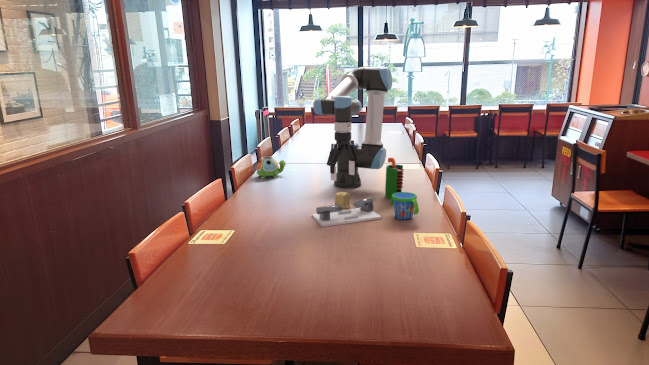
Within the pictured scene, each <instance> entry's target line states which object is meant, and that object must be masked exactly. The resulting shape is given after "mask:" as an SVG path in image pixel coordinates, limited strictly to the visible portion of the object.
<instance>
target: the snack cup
mask: <svg viewBox="0 0 649 365" xmlns="http://www.w3.org/2000/svg"><path fill="white" fill-rule="evenodd" d="M417 199H418V195H417V194H416V193H413V192H410V191H409V192H408V191H401V192H397V193H394V194H392V197H391V199H390V202H389V203H390V206H391V207H393V210H394V216H395V218H397V219H399V220H410V219H412V218H413V215H417V214H419V205H418V200H417Z"/></svg>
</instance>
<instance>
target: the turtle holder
mask: <svg viewBox="0 0 649 365" xmlns="http://www.w3.org/2000/svg"><path fill="white" fill-rule="evenodd" d="M285 166H286V161H285V159H282V160H280V161H279V162H277V161H276V160H275V159H274V157H273V156H263V157H261V158H260V160H259V161H258V163H257V165H256V174H257V176H259V177H260V180H265V179H266V177H272V178H273V179H277V178H278V175H279V174H281V173H282V172H283V171H284V169H285Z"/></svg>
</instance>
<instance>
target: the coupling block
mask: <svg viewBox="0 0 649 365" xmlns="http://www.w3.org/2000/svg"><path fill="white" fill-rule="evenodd" d="M334 205H341V207H342V210H348V209H349V208H350V209H351V194H350V192H347V191H346V192H345V191H338V192H336V193H334Z"/></svg>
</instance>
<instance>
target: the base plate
mask: <svg viewBox="0 0 649 365" xmlns="http://www.w3.org/2000/svg"><path fill="white" fill-rule="evenodd" d="M311 217H312V218H313V219H314V220H315V221H316V222H317V223H318V224H319V225H320V226H321V227H322V228H323V227H329V226H337V225H344V224H345V225H346V224H353V223H360V222H365V221H367V222H368V221H372V220H374V221H375V220H380V219H382V216H381V215H380V214H378V213H376V212H375V211H374V210H373V211H371V212H366V211H363V210H360V207H359V208H356V207H354V208H350V209H349V208H348V209H345V210H342V211H341V212H333V213H330V220H328V221H323V220H322V219H321V218H320V214H317V212H316V213H311Z"/></svg>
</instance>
